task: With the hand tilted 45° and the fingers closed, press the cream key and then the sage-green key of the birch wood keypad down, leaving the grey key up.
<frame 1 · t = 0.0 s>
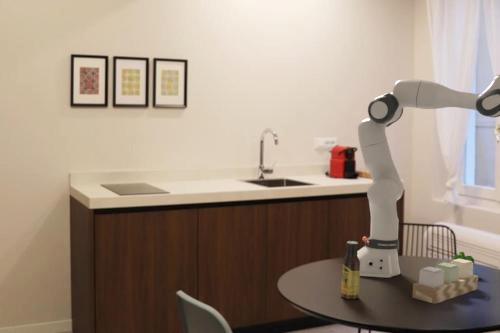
cream key: (461, 270, 230), point 7 cm above the table, slide at 0.0 cm
keypad housing: (445, 293, 224), on the table
bell pepper: (462, 275, 250), on the table
grey key: (431, 278, 217), point 7 cm above the table, slide at 0.0 cm
sage key: (446, 274, 223), point 7 cm above the table, slide at 0.0 cm
sauce bottle: (349, 297, 216), on the table
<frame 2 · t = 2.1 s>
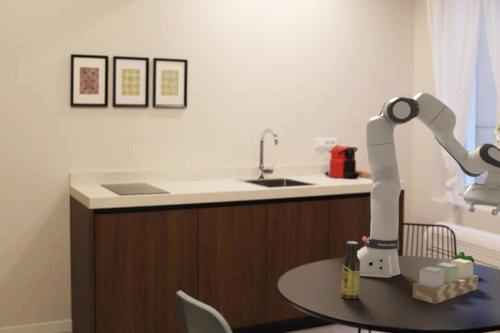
hand: (482, 212, 236), 28 cm above the table, tool tilted 45°, fingers open, 8 cm apart
nothing on the table moved.
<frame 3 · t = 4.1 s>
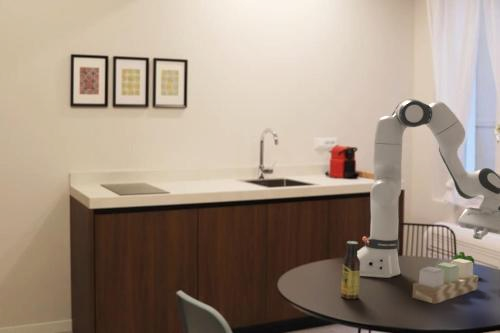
hand: (476, 238, 236), 18 cm above the table, tool tilted 45°, fingers closed
nothing on the table moved.
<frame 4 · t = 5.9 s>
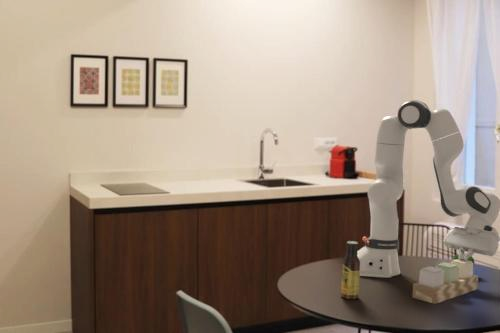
hand: (462, 259, 229), 11 cm above the table, tool tilted 45°, fingers closed, pressing on cream key
cream key: (461, 270, 230), point 7 cm above the table, slide at 0.0 cm, touching gripper
everything else where it was.
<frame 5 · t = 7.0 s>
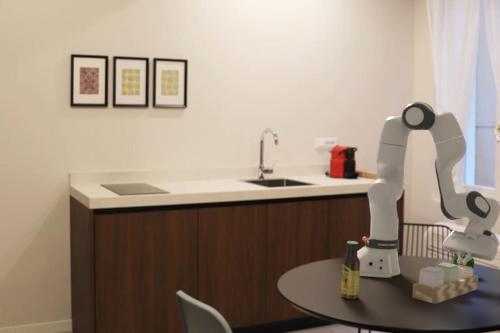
hand: (460, 263, 229), 10 cm above the table, tool tilted 45°, fingers closed
cream key: (461, 276, 230), point 5 cm above the table, slide at 2.3 cm
everything else where it was.
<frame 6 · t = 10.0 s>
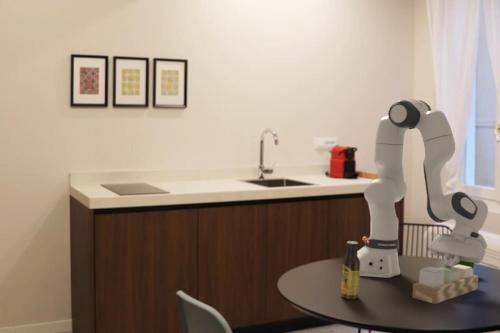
hand: (447, 266, 223), 10 cm above the table, tool tilted 45°, fingers closed, pressing on sage key
sage key: (446, 277, 223), point 6 cm above the table, slide at 1.3 cm, touching gripper
everything else where it was.
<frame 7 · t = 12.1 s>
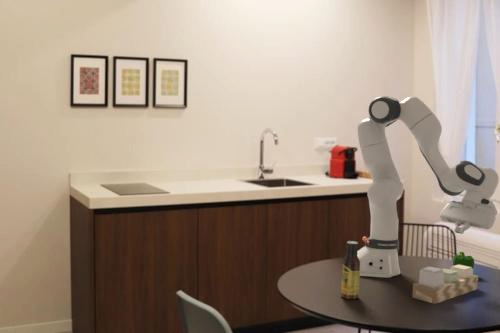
hand: (458, 232, 227), 22 cm above the table, tool tilted 45°, fingers closed
sage key: (446, 280, 223), point 5 cm above the table, slide at 2.3 cm
everything else where it was.
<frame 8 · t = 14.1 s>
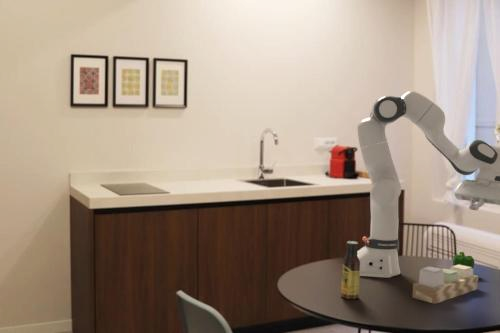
hand: (473, 209, 233), 29 cm above the table, tool tilted 45°, fingers closed
nothing on the table moved.
at the end: cream key slide at 2.3 cm; sage key slide at 2.3 cm; grey key slide at 0.0 cm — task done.
